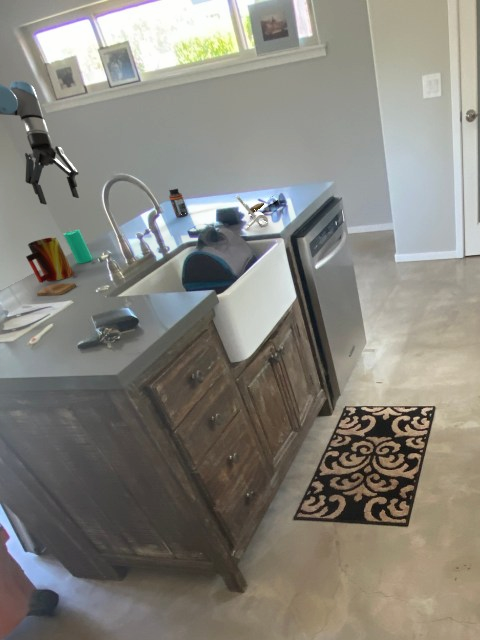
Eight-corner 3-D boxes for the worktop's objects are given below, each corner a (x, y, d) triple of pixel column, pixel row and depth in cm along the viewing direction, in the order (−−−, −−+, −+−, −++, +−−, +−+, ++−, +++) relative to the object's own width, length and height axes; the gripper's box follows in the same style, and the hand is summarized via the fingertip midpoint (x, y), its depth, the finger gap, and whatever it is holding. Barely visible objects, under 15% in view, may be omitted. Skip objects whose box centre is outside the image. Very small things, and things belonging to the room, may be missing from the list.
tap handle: (279, 193, 246) (252, 209, 225) (280, 201, 248) (254, 217, 227) (273, 194, 247) (246, 210, 226) (274, 201, 249) (248, 218, 228)
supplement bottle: (174, 216, 250) (165, 189, 243) (186, 213, 252) (177, 186, 245) (178, 218, 246) (168, 190, 239) (190, 215, 248) (181, 187, 241)
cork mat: (37, 296, 176) (35, 293, 175) (52, 287, 182) (51, 284, 181) (61, 294, 174) (60, 291, 173) (76, 286, 180) (75, 283, 179)
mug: (41, 286, 184) (21, 250, 176) (49, 275, 194) (31, 240, 186) (69, 281, 186) (51, 244, 178) (75, 270, 196) (58, 235, 188)
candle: (95, 257, 207) (80, 224, 199) (87, 262, 202) (71, 229, 194) (82, 259, 208) (66, 226, 200) (74, 264, 203) (57, 230, 195)
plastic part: (269, 225, 213) (261, 193, 206) (245, 230, 211) (237, 198, 204) (265, 221, 219) (258, 190, 211) (242, 226, 217) (234, 194, 209)
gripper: (75, 131, 193) (95, 196, 200) (15, 144, 195) (37, 208, 203) (62, 125, 186) (83, 192, 193) (0, 139, 188) (23, 204, 196)
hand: (59, 200), depth 198 cm, fingers open, 13 cm apart
